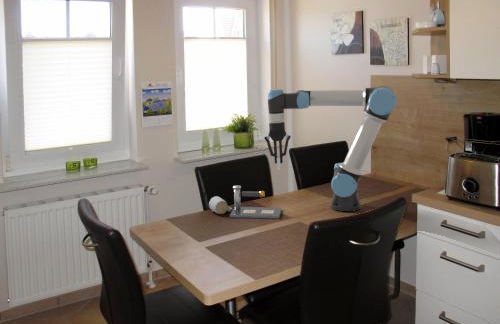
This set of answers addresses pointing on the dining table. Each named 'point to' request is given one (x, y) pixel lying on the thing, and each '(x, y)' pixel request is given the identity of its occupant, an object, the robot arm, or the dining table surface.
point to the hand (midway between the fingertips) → (279, 169)
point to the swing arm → (253, 193)
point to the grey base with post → (252, 209)
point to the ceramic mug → (219, 205)
